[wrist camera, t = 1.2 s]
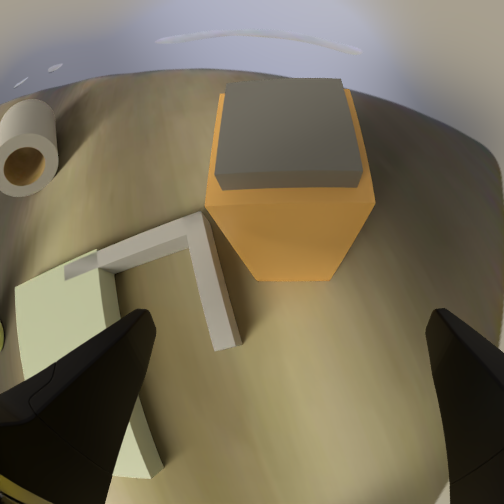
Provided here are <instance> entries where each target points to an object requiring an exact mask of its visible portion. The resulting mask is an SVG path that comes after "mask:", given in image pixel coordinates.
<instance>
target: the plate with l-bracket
mask: <svg viewBox="0 0 504 504" xmlns="http://www.w3.org/2000/svg"><path fill="white" fill-rule="evenodd" d="M187 248H189V250H190V254H191V259H192V264H193V268H194V272H195V277H196V281H197V285H198V289H199V294H200V298H201V302H202V306H203V310H204V314H205V318H206V321H207V325H208V329H209V333H210V337H211V340H212V344H213V348H214V351H219V350H224V349H228V348H232V347H236V346H239V345H243V344H242V341H241V337H240V334H239V330H238V327H237V323H236V320H235V316H234V313H233V309H232V305H231V302H230V298H229V294H228V291H227V287H226V283H225V279H224V276H223V272H222V268H221V264H220V260H219V257H218V253H217V249H216V245H215V241H214V237H213V233H212V229H211V225H210V222H209V221H208V220H207V218H206V217H205V216H204V214H203V213H202V212H201V211H199V212H196V213H193V214H191V215H188V216H185V217H182V218H180V219H177V220H174V221H172V222H169V223H166V224H164V225H161V226H158V227H156V228H153V229H151V230H148V231H145V232H143V233H140V234H138V235H135V236H133V237H130V238H128V239H125V240H123V241H121V242H118V243H116V244H113V245H111V246H109V247H106V248H104V249H101V250H98V249H95V250H93V251H91V252H88V253H86V254H84V255H81V256H79V257H77V258H75V259H73V260H70V261H68V262H66V263H64V264H62V265H60V266H57V267H55V268H53V269H51V270H49V271H47V272H45V273H43V274H41V275H39V276H37V277H35V278H33V279H31V280H29V281H27V282H25V283H23V284H21V285H19V286H17V287H15V306H16V321H17V332H18V341H19V349H20V356H21V362H22V368H23V373H24V378H25V380H27V379H29V378H30V377H32V376H34V375H35V374H37V373H39V372H40V371H42V370H43V369H45V368H47V367H48V366H50V365H51V364H53V363H54V362H57V360H59V359H60V358H62V357H63V356H65V355H66V354H68V353H69V352H71V351H72V350H74V349H75V348H77V347H78V346H80V345H81V344H83V343H84V342H86V341H87V340H89V339H91V338H92V337H94V336H95V335H97V334H98V333H100V332H101V331H103V330H104V329H106V328H107V327H109V326H110V325H112V324H114V323H115V322H117V321H118V320H120V319H121V317H120V311H119V305H118V299H117V292H116V285H115V277H114V274H116V273H119V272H122V271H124V270H127V269H130V268H133V267H136V266H138V265H141V264H144V263H147V262H150V261H152V260H155V259H158V258H161V257H164V256H167V255H169V254H172V253H175V252H178V251H181V250H184V249H187ZM163 468H164V467H163V464H162V462H161V459H160V457H159V454H158V452H157V449H156V446H155V444H154V441H153V438H152V435H151V433H150V430H149V427H148V424H147V421H146V418H145V415H144V412H143V408H142V405H141V402H140V398H139V395H138V397H137V400H136V403H135V406H134V409H133V412H132V415H131V418H130V421H129V424H128V427H127V430H126V433H125V436H124V439H123V442H122V445H121V448H120V452H119V455H118V458H117V462H116V465H115V468H114V472H113V475H112V476H121V477H131V478H146V479H152V478H153V477H154V476H155V475H156V474H158V473H159V472H160V471H161V470H162V469H163Z"/></svg>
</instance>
